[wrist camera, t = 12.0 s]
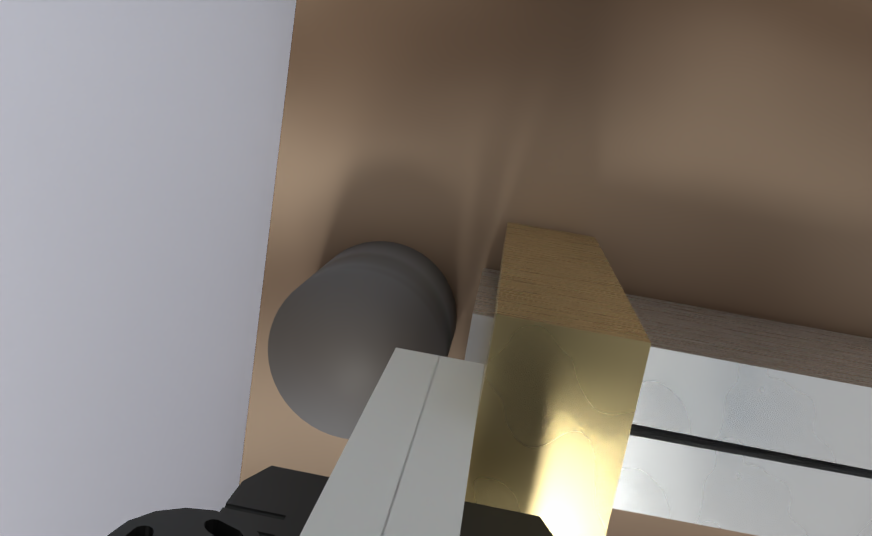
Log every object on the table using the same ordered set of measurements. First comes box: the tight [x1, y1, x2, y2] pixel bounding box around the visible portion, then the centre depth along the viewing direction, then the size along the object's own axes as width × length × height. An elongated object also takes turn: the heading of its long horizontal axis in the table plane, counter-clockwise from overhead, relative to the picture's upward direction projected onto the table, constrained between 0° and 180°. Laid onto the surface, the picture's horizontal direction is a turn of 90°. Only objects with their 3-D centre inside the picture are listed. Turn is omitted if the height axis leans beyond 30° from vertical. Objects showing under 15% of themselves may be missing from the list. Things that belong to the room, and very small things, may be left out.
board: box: [239, 0, 872, 536], centre depth 17 cm, size 18×26×4 cm
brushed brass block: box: [465, 222, 651, 536], centre depth 15 cm, size 6×2×8 cm, turn 171°
